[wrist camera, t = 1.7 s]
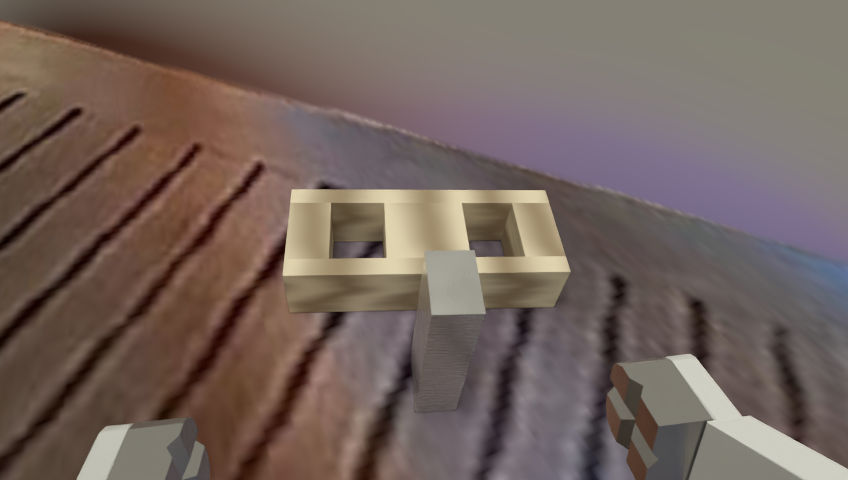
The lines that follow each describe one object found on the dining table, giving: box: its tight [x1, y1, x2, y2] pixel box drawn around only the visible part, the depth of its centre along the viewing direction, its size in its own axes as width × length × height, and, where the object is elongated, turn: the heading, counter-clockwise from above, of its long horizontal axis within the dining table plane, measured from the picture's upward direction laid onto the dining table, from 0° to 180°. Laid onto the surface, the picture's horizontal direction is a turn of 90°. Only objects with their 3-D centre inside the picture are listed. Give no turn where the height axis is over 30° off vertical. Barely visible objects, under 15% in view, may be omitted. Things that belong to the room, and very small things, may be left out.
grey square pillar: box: [411, 250, 486, 412], centre depth 36 cm, size 3×4×13 cm, turn 5°
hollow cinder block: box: [283, 190, 570, 313], centre depth 46 cm, size 22×9×5 cm, turn 95°
